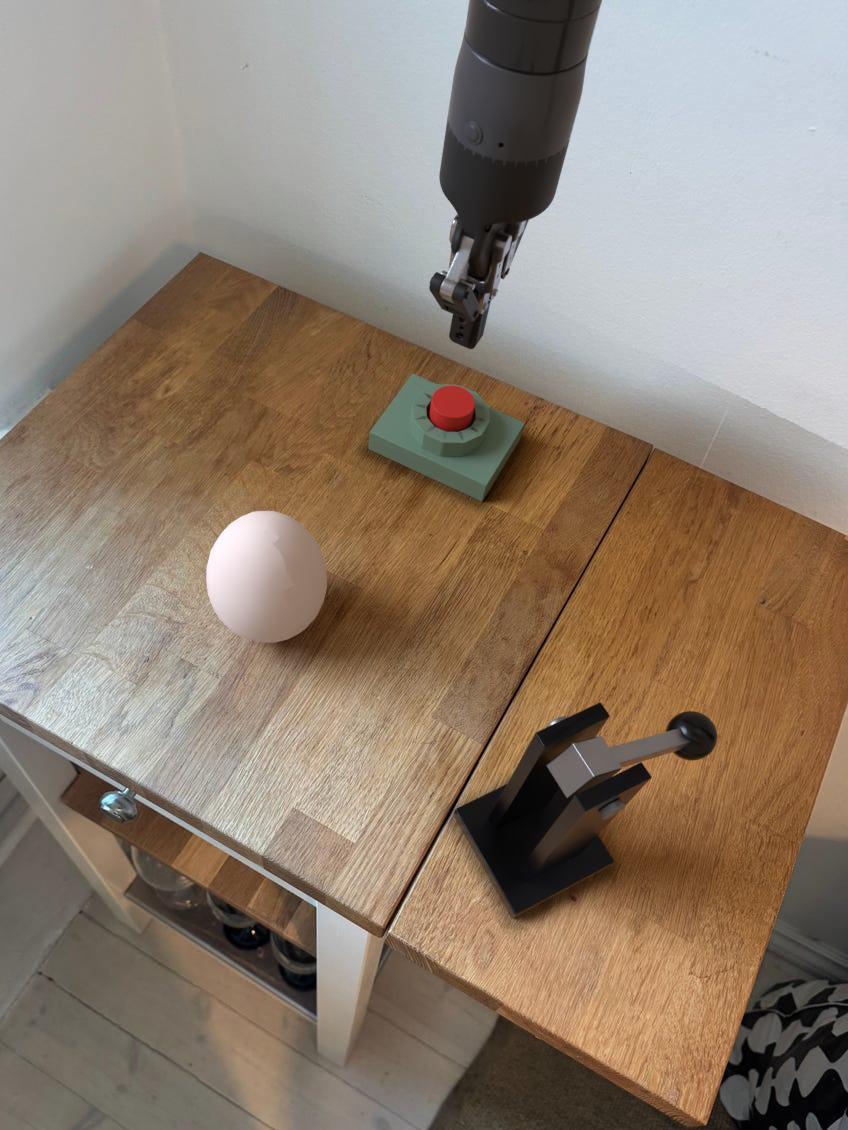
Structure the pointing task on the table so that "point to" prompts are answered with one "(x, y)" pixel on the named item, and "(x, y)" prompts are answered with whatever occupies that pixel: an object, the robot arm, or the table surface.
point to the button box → (445, 440)
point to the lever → (631, 752)
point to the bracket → (546, 819)
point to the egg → (266, 577)
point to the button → (452, 408)
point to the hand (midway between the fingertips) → (465, 339)
